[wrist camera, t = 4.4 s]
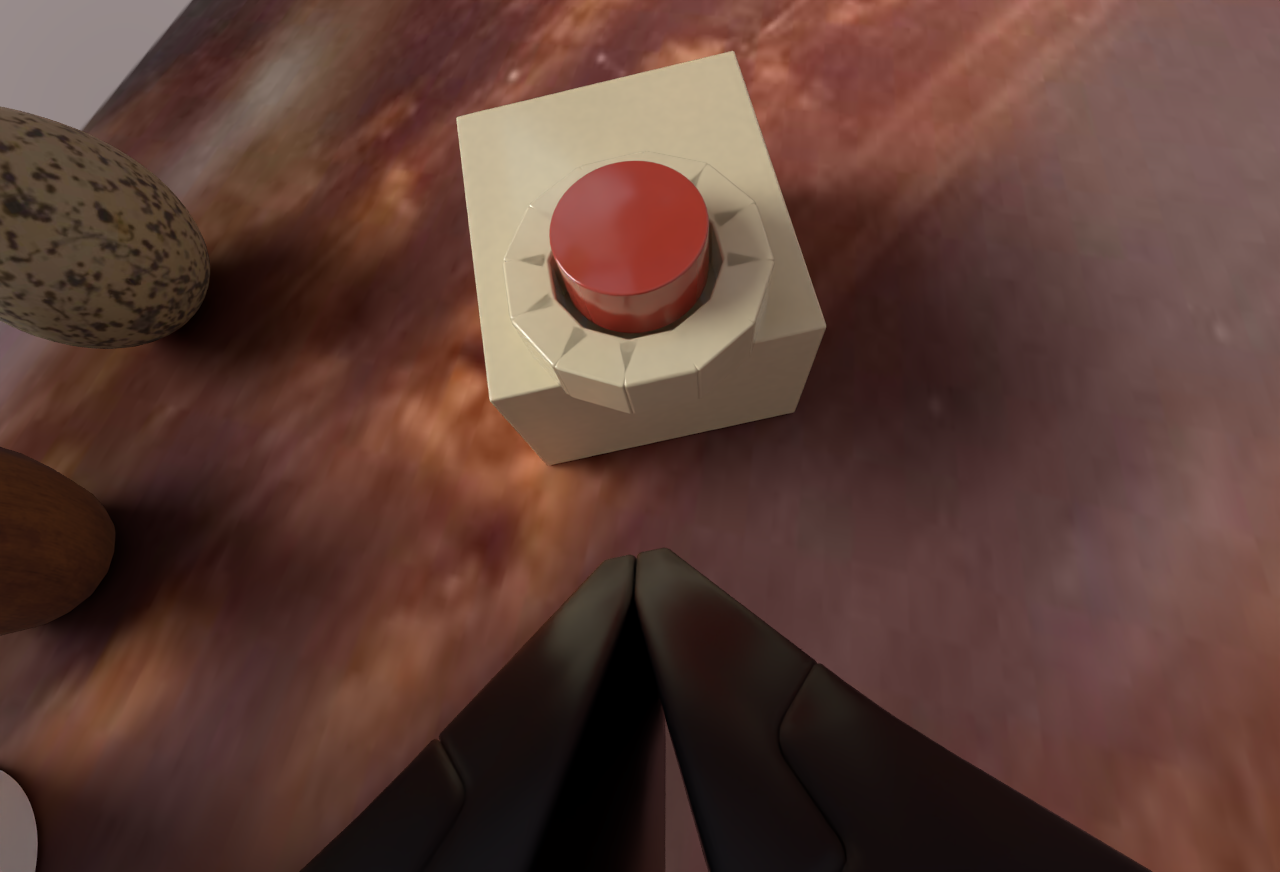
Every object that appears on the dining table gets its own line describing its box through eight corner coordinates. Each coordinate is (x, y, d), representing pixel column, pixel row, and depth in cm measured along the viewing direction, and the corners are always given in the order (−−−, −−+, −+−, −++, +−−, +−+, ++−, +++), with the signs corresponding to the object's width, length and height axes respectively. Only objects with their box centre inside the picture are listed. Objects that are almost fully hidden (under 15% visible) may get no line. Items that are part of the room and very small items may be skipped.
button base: (805, 445, 21) (859, 335, 14) (552, 499, 22) (468, 421, 14) (728, 188, 25) (736, -9, 18) (513, 238, 25) (431, 65, 18)
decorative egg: (259, 353, 25) (-14, 175, 15) (91, 404, 25) (-283, 257, 16) (250, 214, 27) (10, -13, 18) (96, 261, 27) (-224, 58, 18)
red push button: (724, 315, 15) (726, 273, 13) (577, 348, 15) (560, 311, 13) (691, 196, 16) (689, 144, 14) (555, 227, 16) (538, 179, 14)
